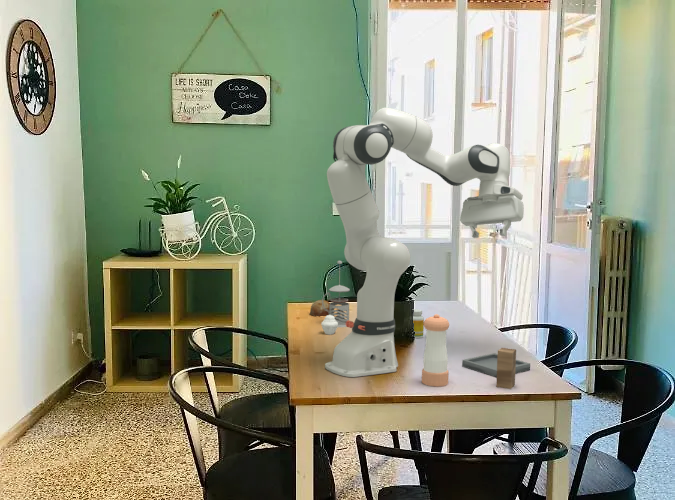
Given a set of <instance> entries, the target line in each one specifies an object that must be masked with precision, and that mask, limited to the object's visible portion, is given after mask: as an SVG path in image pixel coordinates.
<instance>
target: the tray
mask: <svg viewBox="0 0 675 500" xmlns="http://www.w3.org/2000/svg"><path fill="white" fill-rule="evenodd" d="M497 355H498V353H494V352H492V353H488V354H483V355H479V356H474V357H470V358H466V359H465V358H464V359H462V362H461V363H462V364H461V366H462V367H464V368H466V369H468V370H469V369H470V370H472V371H475V372H478V373H482V374H484V375H488V376H491V377H494V378H497ZM527 371H531V363H529V362H526V361H522V360H519V359H516V369H515V375H516V374H520V373H523V372H527Z"/></svg>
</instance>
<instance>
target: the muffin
mask: <svg viewBox="0 0 675 500" xmlns="http://www.w3.org/2000/svg"><path fill="white" fill-rule="evenodd" d="M334 316H335V315H334ZM334 316H332V315H327V316H326V317H324V319H323V320H322V321H321V325H320V326H321V327H322V330H323V332H324V334H325V335H334V334H335V333H336V331H337V329H338V327H337V326H338V322H337V321H336V320H335V317H334Z"/></svg>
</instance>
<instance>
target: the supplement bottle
mask: <svg viewBox="0 0 675 500" xmlns="http://www.w3.org/2000/svg"><path fill="white" fill-rule="evenodd" d="M413 310H414V316H413V323H414V331H415V335H414V336H415V338H414V339H422V338H423V337H424V329H425V327H424V321H425V319H424V316H423V310H422V309H417V308H416V309H413Z"/></svg>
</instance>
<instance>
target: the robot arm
mask: <svg viewBox="0 0 675 500" xmlns="http://www.w3.org/2000/svg"><path fill="white" fill-rule="evenodd" d="M370 120H371V121H370V123H369V124H368V125H367V124H366V125H365V124H357V125H349V126H345V127H343V128H342V129H340V130H338V132H336V134H335V136H334V138H333V142H332V143H333V144H332V147H333V148H332V149H333V155H332V158H333V161H334V162H333V163H331V164H330V166H329V167H328V168H327V171H326V177H327V183H328V187H329V192H330V193H331V197H332V200H333V202H334V205H335V208H336V210H337V212H338V215H339V217H340V219H341V222H342V225H343V229H344V232H345V233H344V234H345V240H346V243H345V246H344V249H343V250H344V251H343V254H344V258H345V260H346V262H347V263H349V265H350V266H352V267H354V268H355V269H357V270H360V271H364V272H366V274H365V275H366V276H365V280H364V283H363V286H361V288H360V289H359V290H358V292H357V294H356V297H357V298H356V318H355V319H354V321H351V320H350V319H349V320H348V321H346V327H345V328H349V329H351V332H350V333H349V334H347V336H345V338H344V339H342V340H341V341H340V342H339V343H338V344H337V345H336V346H335V347H334V350H333V355H332V361H328V362H326V363H325V364H324V369H326V370H327V371H329V372H330V373H333V374H336V375H339V376H343V377H347V378H357V377H365V376H373V375H380V374H381V375H382V374H389V373H395V372H397V368H398V367H399V362H398V358H397V354H396V348H395V346H396V345H395V337H394V335H395V331H396V319H395V318H394V311H395V294H396V289H397V285H398V284H399V283H398V282H399V279H401V276H402V275H403V273H405V271H406V270H407V269H408V268H409V265H410V263H411V253H410V250H409V248H408V247H407V245H406V244H404V243H403V242H402V241H399V240H397V239H395V238H390V237H384V236H381V235H380V233H379V230H378V219H379V217H380V211H379V208H378V206H377V203H376V200H375V198H374V196H373V193H372V189H371V188H370V185H369V182H368V180H367V177H366V165H376V164H379V163H381V162H382V161H384V160H385V159H386V158H387V157H388V155H389V154H390V152H391V149H395V150H396V151H399V152H401V153H403V154H405V155H406V156H407V157H408V158H409V159H410V160H411V161H413V162H415V163H417V164H418V165H420V166H422V167H424V168H426V169H428V170H429V171H431V172H433V173H435V174H437V175H438V176H439V177H440V178H441V179H442V180H443V181H444V182H446V183H447V184H449V185H450V186H454V187H455V186H456V187H457V186H458V187H459V186H461V185H463V184H465V183H467V182H469V181H472V180H474V179H479V187H478V196H473V197H472V196H470V197H467V198H466V199H465V200H464V201H463V203H462V208H461V212H460V215H459V218H460V219H459V221H460V223H461V224H462V225H464V226H465V227H468V226H469V229H470V230H471V237H472V238H473V239H479V237H480V236H479V235H480V232H478V231H477V230H476V229H477V228H478V226H481V225H492V224H504V225H503V227H502V228H500V229H499V232H498V233H499V235H500V236H501V237H506V236H507V233H508V230H509V228H511V226H512V223H515V222H516V223H517V222H518V223H519V222H521V221H522V220H523V219H524V215H525V214H524V203H523V201H522V200H523V198H524V197H523V194H522V192H520V191H519V190H518V189H516V188H514V187H512V186H509V182H508V180H509V176H510V174H511V173H510V172H511V154H510V150H509V149H508V148H507V146H505V145H503V144H501V143H498V142H497V143H496V142H493V143H490V144H487V145H481V144H475V145H471V146H469V147H467V148H464V149H461V151H458V152H455V153H452V154H443V153H441V152H439V151H438V150H437V149H434V148H432V143H433V131H432V130H433V129H432V127H431V125H430V124H429V122H427V121H426V120H424V119H422V118H421V117H418V116H417V115H413V114H412V113H410V112H406V111H403V110H400V109H397V108H391V107H382V108H379V109H378V110H377V111H376V112H375V113H374V114H373V115H372V118H371V119H370Z"/></svg>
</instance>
